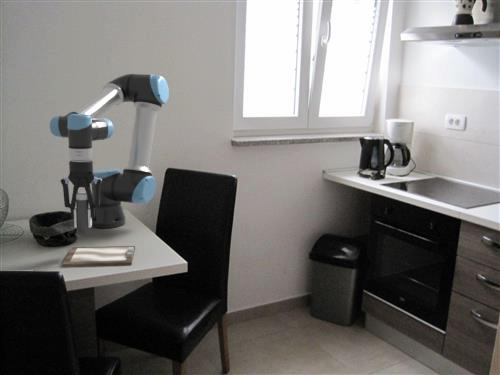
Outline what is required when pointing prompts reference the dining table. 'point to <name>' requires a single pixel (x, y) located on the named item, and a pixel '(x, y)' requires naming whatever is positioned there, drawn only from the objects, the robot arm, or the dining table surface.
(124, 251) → the clipboard
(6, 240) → the dining table surface
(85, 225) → the marker
